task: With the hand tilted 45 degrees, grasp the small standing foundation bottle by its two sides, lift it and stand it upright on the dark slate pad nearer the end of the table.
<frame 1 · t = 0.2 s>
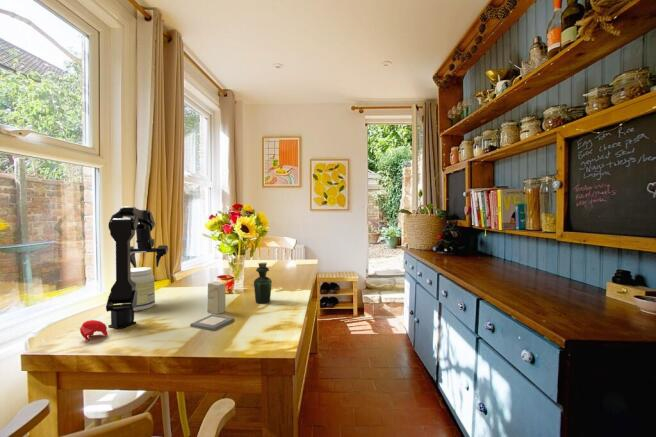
hand: (146, 267, 149), 15 cm above the table, tool pointing down, fingers open, 9 cm apart
potion bottle: (262, 302, 145), on the table
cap: (94, 338, 105), on the table
supplement tub: (139, 307, 137), on the table
slate pad: (212, 323, 118), on the table
skincare box: (216, 312, 131), on the table
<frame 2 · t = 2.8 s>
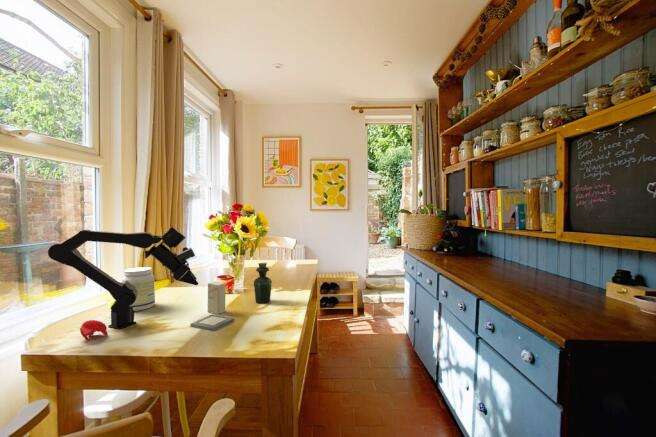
hand: (196, 282, 127), 13 cm above the table, tool tilted 45°, fingers open, 9 cm apart
nothing on the table moved.
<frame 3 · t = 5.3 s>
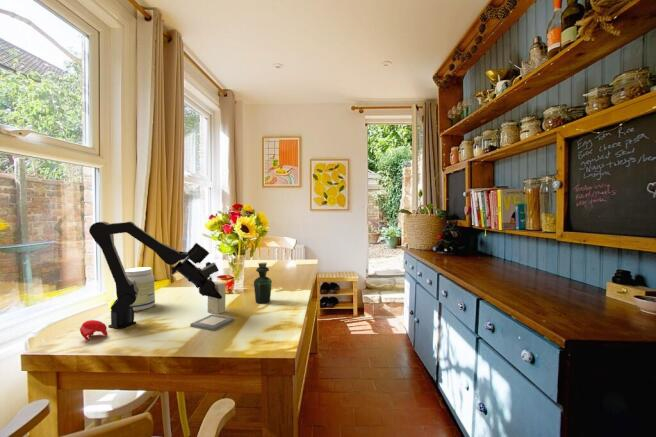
hand: (220, 295, 131), 7 cm above the table, tool tilted 45°, fingers closed on skincare box, 7 cm apart
skincare box: (216, 312, 131), on the table, touching gripper
everything else where it was.
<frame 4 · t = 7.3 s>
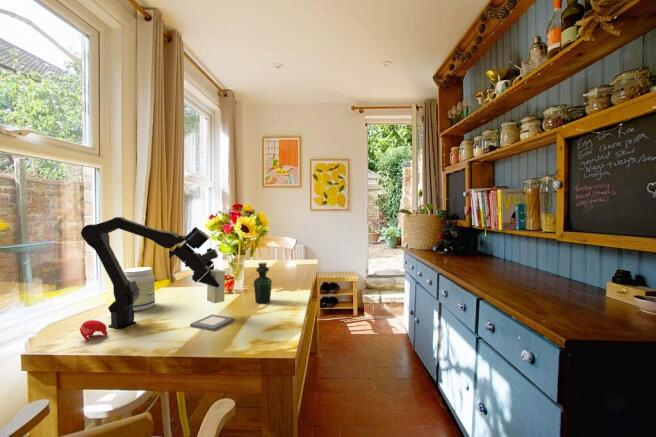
hand: (219, 284, 124), 13 cm above the table, tool tilted 45°, fingers closed on skincare box, 7 cm apart
skincare box: (216, 301, 124), point 6 cm above the table, touching gripper
everything else where it was.
when the fingers open (8 cm above the table, at t = 9.5 s): skincare box stays where it is, resting on slate pad.
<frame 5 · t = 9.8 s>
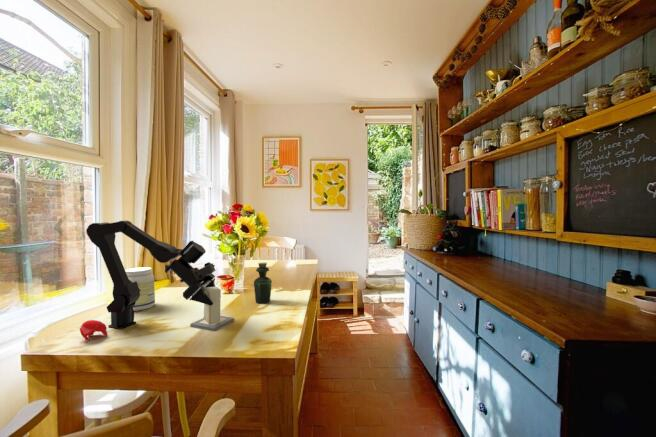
hand: (216, 300, 118), 9 cm above the table, tool tilted 45°, fingers open, 9 cm apart
skincare box: (212, 321, 118), point 1 cm above the table, touching slate pad
everything else where it was.
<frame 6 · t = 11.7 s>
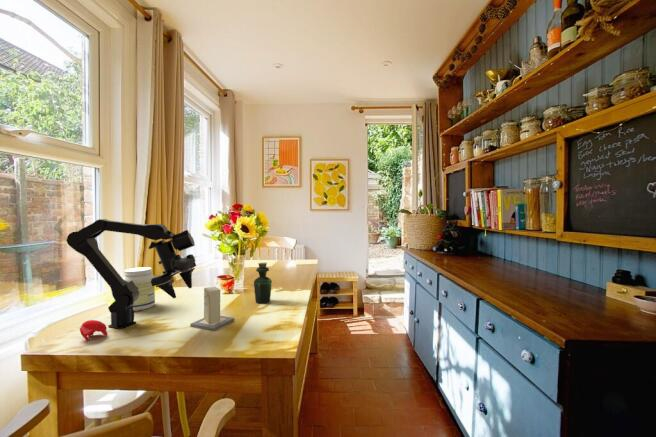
hand: (183, 292, 121), 11 cm above the table, tool tilted 20°, fingers open, 9 cm apart
nothing on the table moved.
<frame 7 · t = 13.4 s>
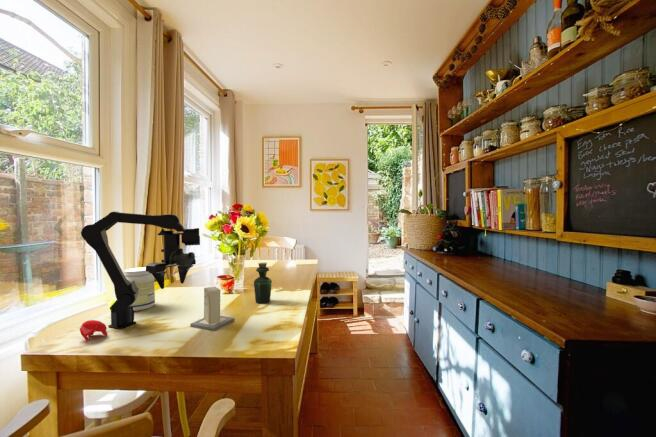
hand: (172, 286, 122), 13 cm above the table, tool pointing down, fingers open, 9 cm apart
nothing on the table moved.
at the end: skincare box inside the target area on the slate pad (0.2 cm from its centre), point 0.9 cm above the slate pad's base; skincare box tilted 0°; the gripper is holding nothing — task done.
